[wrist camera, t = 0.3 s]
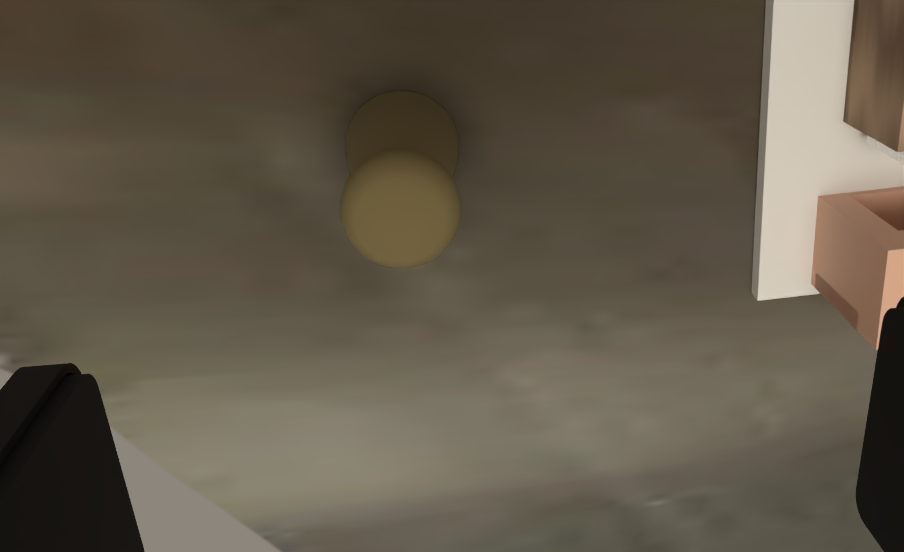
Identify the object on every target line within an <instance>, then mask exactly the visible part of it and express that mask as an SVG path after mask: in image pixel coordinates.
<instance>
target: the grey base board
mask: <svg viewBox="0 0 904 552" xmlns="http://www.w3.org/2000/svg"><path fill="white" fill-rule="evenodd" d="M853 9H854V0H766V8H765V28H764V49H763V69H762V89H761V109H760V129H759V149H758V169H757V189H756V209H755V229H754V249H753V269H752V289H751V293H752V294H753V296H754V297H755V298H756V299H757V301H759V300H768V299H777V298H786V297H794V296H803V295H812V294H820V293H819V292H818V291H817V289H816V288H815V287H814V286H813V285H812V284H811V276H812V264H813V251H814V239H815V227H816V215H817V203H818V196H822V195H831V194H840V193H849V192H857V191H866V190H875V189H884V188H893V187H901V186H904V164H902V163H900V162H898V161H897V160H895V159H893V158H891V157H890V156H888V155H886V154H885V153H883V152H881V151H879V150H878V149H876V148H874V147H873V146H871V145H869V144H867V135H866V134H864V133H862V132H861V131H859V130H857V129H855V128H853V127H852V126H850V125H848V124H846V123H845V122H843V117H844V106H845V96H846V85H847V74H848V63H849V52H850V41H851V30H852V19H853Z"/></svg>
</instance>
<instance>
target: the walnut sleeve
mask: <svg viewBox="0 0 904 552" xmlns="http://www.w3.org/2000/svg"><path fill="white" fill-rule="evenodd" d="M843 122H845V123H846V124H848V125H850V126H852V127H853V128H855V129H857V130H859V131H861V132H862V133H864V134H866V135H868V136H869V137H871V138H873V139H875V140H877V141H878V142H880V143H882V144H884V145H885V146H887V147H889V148H891V149H893V150H894V151H896V152H904V0H854V9H853V19H852V30H851V41H850V52H849V63H848V74H847V85H846V96H845V106H844V117H843Z"/></svg>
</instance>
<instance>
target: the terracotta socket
mask: <svg viewBox="0 0 904 552" xmlns="http://www.w3.org/2000/svg"><path fill="white" fill-rule="evenodd" d="M811 284H812V285H813V286H814V287H815V288H816V289H817V291H818V292H819V293H820V294H821V295H822V296H823V297H824V298H825V299H826V300H827V301H828V302H829V303H830V304H831V305H832V306H833V307H834V308H835V309H836V310H837V311H838V312H839V313H840V314H841V315H842V316H843V317H844V318H845V319H846V320H847V321H848V322H849V323H850V324H851V325H852V326H853V327H854V328H855V329H856V330H857V331H858V332H859V333H860V334H861V335H862V336H863V337H864V338H865V339H866V340H867V341H868V342H869V343H870V344H871V345H872V346H873V347H874V348H875V349H876V350H878V346H879V339H880V333H881V327H882V321H883V317H884V315H885V313H886V311H887V310H889V309H890V308H896V306H897V304H898V302H899V301H900V299H901V298H902V297H904V186H901V187H893V188H884V189H875V190H866V191H857V192H849V193H840V194H831V195H822V196H818V203H817V215H816V227H815V239H814V251H813V264H812V276H811Z"/></svg>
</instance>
